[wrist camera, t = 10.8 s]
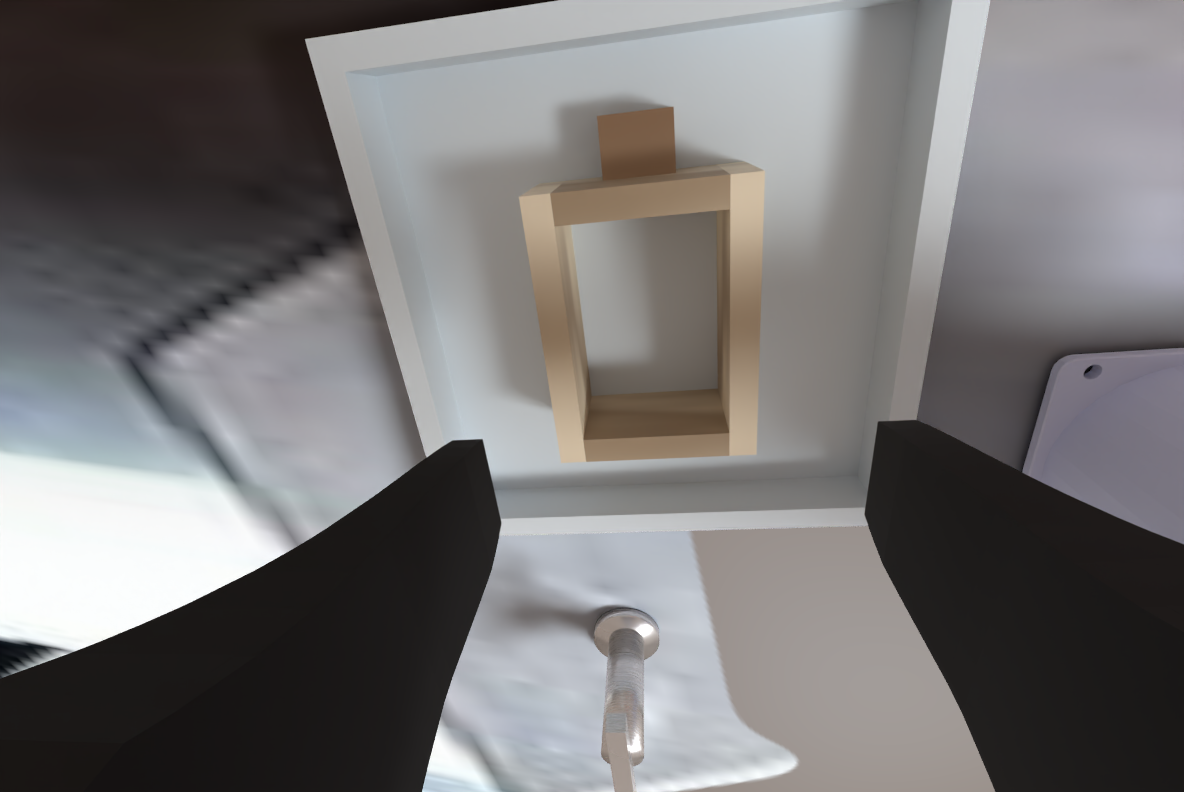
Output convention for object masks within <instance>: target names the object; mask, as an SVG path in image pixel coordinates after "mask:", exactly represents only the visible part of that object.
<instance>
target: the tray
mask: <svg viewBox="0 0 1184 792" xmlns="http://www.w3.org/2000/svg"><path fill="white" fill-rule="evenodd" d="M989 5H990V0H558V1H552V2H545V3H539V4H532V5H526V6H519V7H513V8H506V9H499V10H493V11H486V12H480V13H473V14H467V15H460V16H454V17H447V18H440V19H434V20H427V21H421V22H414V23H408V24H401V25H395V26H388V27H381V28H375V29H368V30H362V31H355V32H349V33H342V34H336V35H329V36H322V37H316V38H309V39H305V41H306V45H307V48H308V52H309V55H310V59H311V62H312V66H313V69H314V72H315V76H316V79H317V83H318V86H319V90H320V93H321V97H322V100H323V103H324V107H325V110H326V114H327V117H328V121H329V124H330V128H331V131H332V134H333V138H334V141H335V145H336V148H337V152H338V155H339V159H340V162H341V165H342V169H343V172H344V176H345V179H346V183H347V186H348V190H349V193H350V196H351V200H352V203H353V207H354V210H355V214H356V217H357V221H358V224H359V227H360V231H361V234H362V238H363V241H364V245H365V248H366V252H367V255H368V258H369V262H370V265H371V269H372V272H373V276H374V279H375V283H376V286H377V289H378V293H379V296H380V300H381V303H382V307H383V310H384V314H385V317H386V320H387V324H388V327H389V331H390V334H391V338H392V341H393V345H394V348H395V351H396V355H397V358H398V362H399V365H400V369H401V372H402V376H403V379H404V383H405V386H406V389H407V393H408V396H409V400H410V403H411V407H412V410H413V414H414V417H415V420H416V424H417V427H418V431H419V434H420V438H421V441H422V445H423V448H424V451H425V455H426V458H427V457H428V456H429V455H431V454H432V453H434V452H435V451H437V450H438V449H439V448H441V447H442V446H444V445H446V444H447V443H449V442H451V441H452V440H471V439H483V443H484V447H485V451H486V456H487V460H488V465H489V469H490V474H491V478H492V482H493V487H494V491H495V496H496V500H497V505H498V509H499V514H500V518H501V522H502V524H501V529H500V534H499V536H515V535H551V534H588V533H624V532H661V531H696V530H734V529H770V528H806V527H842V526H868V523H867V521H866V518H865V515H864V513H865V506H866V499H867V492H868V486H869V479H870V472H871V465H872V458H873V451H874V445H875V438H876V431H877V424H878V421H899V420H916V419H917V414H918V408H919V402H920V397H921V391H922V385H923V380H924V374H925V368H926V363H927V357H928V351H929V346H930V340H931V334H932V329H933V323H934V317H935V312H936V306H937V300H938V294H939V289H940V283H941V277H942V272H943V266H944V260H945V255H946V249H947V243H948V238H949V232H950V226H951V221H952V215H953V209H954V204H955V198H956V192H957V187H958V181H959V175H960V170H961V164H962V158H963V153H964V147H965V141H966V136H967V130H968V124H969V119H970V113H971V107H972V102H973V96H974V90H975V84H976V79H977V73H978V67H979V62H980V56H981V50H982V45H983V39H984V33H985V28H986V22H987V16H988V11H989ZM666 107H674V129H675V156H676V169H679V168H688V167H698V166H707V165H716V164H725V163H735V162H744V161H745V162H747V163H749V164H751V165H754V166H756V167H758V168H760V169H762V170H764V171H765V188H764V221H763V254H762V287H761V321H760V354H759V387H758V420H757V454H756V455H737V456H713V457H690V458H666V459H643V460H620V461H596V462H573V463H561V459H560V453H559V446H558V440H557V434H556V428H555V421H554V415H553V409H552V402H551V396H550V390H549V384H548V377H547V371H546V365H545V358H544V352H543V346H542V340H541V333H540V327H539V321H538V314H537V308H536V302H535V296H534V289H533V283H532V277H531V271H530V264H529V258H528V252H527V245H526V239H525V233H524V227H523V220H522V214H521V208H520V201H519V196H521V195H522V194H524V193H526V192H527V191H529V190H530V189H532V188H533V187H535V186H536V185H538V184H541V183H550V182H559V181H568V180H578V179H587V178H596V177H602V167H601V156H600V145H599V134H598V124H597V116H601V115H609V114H617V113H625V112H633V111H641V110H649V109H658V108H666ZM571 230H572V238H573V246H574V254H575V262H576V271H577V279H578V287H579V295H580V304H581V312H582V320H583V328H584V336H585V345H586V353H587V361H588V369H589V378H590V386H591V394H592V396H599V395H616V394H634V393H651V392H668V391H685V390H703V389H718V360H717V213H716V211H708V212H698V213H687V214H677V215H667V216H657V217H647V218H636V219H626V220H616V221H606V222H596V223H585V224H575V225H571Z"/></svg>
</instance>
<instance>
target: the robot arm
mask: <svg viewBox="0 0 1184 792" xmlns="http://www.w3.org/2000/svg"><path fill="white" fill-rule="evenodd" d="M1091 365H1093V368H1092V369H1091V371H1089V372H1088V373H1086V374H1084V371H1085V370H1086V369H1087V368H1088V367H1089V366H1091ZM864 515H865V518H866V521H867V523H868V526H869V529H870V532H871V535H872V537H873V540H874V543H875V545H876V548H877V550H878V553H879V555H880V558H881V561H882V563H883V565H884V567H885V569H886V571H887V573H888V575H889V577H890V579H891V581H892V583H893V584H894V586H895V588H896V590H897V592H898V594H899V596H900V597H901V599H902V601H903V603H904V605H905V607H906V609H907V610H908V612H909V614H910V616H911V618H912V620H913V621H914V623H915V625H916V627H917V628H918V630H919V632H920V634H921V636H922V638H923V640H924V641H925V643H926V645H927V647H928V649H929V650H930V652H931V654H932V656H933V658H934V660H935V662H936V663H937V665H938V667H939V669H940V670H941V672H942V674H943V676H944V678H945V680H946V682H947V683H948V685H949V687H950V689H951V691H952V694H953V695H954V698H955V700H956V702H957V704H958V705H959V708H960V710H961V712H962V714H963V716H964V718H965V721H966V723H967V725H968V728H969V730H970V732H971V735H972V737H973V740H974V742H975V744H976V746H977V749H978V751H979V754H980V756H981V758H982V761H983V763H984V765H985V768H986V770H987V772H988V775H989V777H990V779H991V782H992V784H993V787H994V789H995V792H1184V348H1171V349H1155V350H1139V351H1123V352H1106V353H1090V354H1074V355H1068V356H1065V357H1063V358H1061V359H1059V360H1058V361H1057V362H1056V363H1055V364H1054V366H1053V368H1052V370H1051V374H1050V377H1049V380H1048V384H1047V387H1046V391H1045V394H1044V398H1043V401H1042V405H1041V408H1040V412H1039V415H1038V419H1037V422H1036V425H1035V429H1034V432H1033V436H1032V439H1031V443H1030V446H1029V450H1028V453H1027V457H1026V460H1025V464H1024V467H1023V471H1022V472H1020V471H1018V470H1016V469H1014V468H1012V467H1010V466H1008V465H1006V464H1004V463H1002V462H1000V461H998V460H997V459H995V458H993V457H991V456H989V455H987V454H985V453H983V452H981V451H979V450H977V449H975V448H973V447H971V446H969V445H967V444H965V443H964V442H962V441H960V440H958V439H956V438H954V437H952V436H950V435H948V434H946V433H944V432H942V431H940V430H938V429H935V428H933V427H931V426H929V425H927V424H924V423H922V422H919V421H917V420H899V421H878V424H877V431H876V438H875V445H874V451H873V458H872V465H871V472H870V479H869V486H868V492H867V499H866V506H865V513H864ZM501 524H502V522H501V518H500V514H499V509H498V505H497V500H496V496H495V491H494V487H493V482H492V478H491V474H490V469H489V465H488V460H487V456H486V451H485V447H484V443H483V439H471V440H452V441H451V442H449V443H447V444H446V445H444V446H442V447H441V448H439V449H438V450H437V451H435V452H434V453H432V454H431V455H429V456H428V457H427V458H425V459H424V460H423V461H421V462H420V463H419V464H417V465H416V466H414V467H413V468H412V469H410V470H409V471H408V472H406V473H405V474H404V475H402V476H401V477H400V478H398V479H397V480H396V481H394V482H393V483H391V484H390V485H389V486H387V487H386V488H385V489H383V490H382V491H381V492H379V493H378V494H376V495H375V496H374V497H372V498H371V499H369V500H368V501H366V502H365V503H363V504H362V505H360V506H359V507H358V508H356V509H355V510H353V511H352V512H350V513H349V514H347V515H346V516H344V517H343V518H341V519H340V520H338V521H337V522H335V523H334V524H332V525H331V526H330V527H328V528H327V529H325V530H323V531H322V532H320V533H319V534H317V535H316V536H314V537H312V538H311V539H309V540H307V541H306V542H304V543H302V544H301V545H299V546H297V547H296V548H294V549H292V550H291V551H289V552H287V553H285V554H284V555H282V556H280V557H278V558H277V559H275V560H273V561H271V562H269V563H268V564H266V565H264V566H262V567H260V568H259V569H257V570H255V571H253V572H251V573H249V574H247V575H245V576H243V577H241V578H239V579H237V580H235V581H233V582H231V583H229V584H227V585H225V586H223V587H221V588H219V589H217V590H215V591H213V592H211V593H209V594H207V595H205V596H203V597H201V598H199V599H197V600H195V601H193V602H191V603H189V604H186V605H184V606H182V607H180V608H178V609H176V610H173V611H171V612H169V613H167V614H164V615H162V616H160V617H157V618H155V619H153V620H151V621H148V622H146V623H144V624H142V625H139V626H137V627H134V628H132V629H130V630H127V631H125V632H122V633H120V634H117V635H115V636H113V637H110V638H108V639H105V640H103V641H100V642H98V643H95V644H93V645H90V646H88V647H85V648H83V649H80V650H78V651H75V652H72V653H70V654H67V655H64V656H62V657H59V658H56V659H53V660H51V661H48V662H45V663H42V664H40V665H37V666H34V667H31V668H28V669H26V670H23V671H20V672H17V673H15V674H12V675H9V676H6V677H4V678H1V679H0V792H422V789H423V784H424V780H425V776H426V772H427V767H428V763H429V759H430V755H431V752H432V748H433V744H434V740H435V736H436V732H437V728H438V725H439V721H440V717H441V713H442V709H443V705H444V702H445V699H446V696H447V693H448V689H449V686H450V683H451V680H452V677H453V674H454V672H455V669H456V666H457V663H458V661H459V658H460V655H461V653H462V650H463V647H464V645H465V642H466V639H467V636H468V634H469V631H470V628H471V626H472V623H473V620H474V617H475V615H476V612H477V609H478V607H479V604H480V601H481V598H482V595H483V593H484V590H485V587H486V584H487V582H488V579H489V576H490V573H491V570H492V566H493V562H494V557H495V553H496V549H497V544H498V539H499V534H500V529H501Z"/></svg>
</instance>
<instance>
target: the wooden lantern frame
mask: <svg viewBox="0 0 1184 792" xmlns="http://www.w3.org/2000/svg"><path fill="white" fill-rule="evenodd" d="M597 124H598V134H599V145H600V156H601V167H602V177H596V178H587V179H578V180H568V181H559V182H550V183H541V184H538V185H536V186H535V187H533V188H532V189H530V190H529V191H527V192H526V193H524V194H522V195H521V196H519V201H520V208H521V214H522V220H523V227H524V233H525V239H526V245H527V252H528V258H529V264H530V271H531V277H532V283H533V289H534V296H535V302H536V308H537V314H538V321H539V327H540V333H541V340H542V346H543V352H544V358H545V365H546V371H547V377H548V384H549V390H550V396H551V402H552V409H553V415H554V421H555V428H556V434H557V440H558V446H559V453H560V459H561V463H573V462H596V461H620V460H643V459H666V458H690V457H713V456H737V455H756V454H757V420H758V387H759V354H760V321H761V287H762V254H763V221H764V188H765V171H764V170H762V169H760V168H758V167H756V166H754V165H751V164H749V163H747V162H745V161H744V162H735V163H725V164H716V165H707V166H698V167H688V168H679V169H676V156H675V129H674V107H666V108H658V109H649V110H641V111H633V112H625V113H617V114H609V115H601V116H597ZM708 211H716V213H717V360H718V389H703V390H685V391H668V392H651V393H634V394H616V395H599V396H592V394H591V386H590V378H589V369H588V361H587V353H586V345H585V336H584V328H583V320H582V312H581V304H580V295H579V287H578V279H577V271H576V262H575V254H574V246H573V238H572V230H571V225H575V224H585V223H596V222H606V221H616V220H626V219H636V218H647V217H657V216H667V215H677V214H687V213H698V212H708Z"/></svg>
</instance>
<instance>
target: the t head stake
mask: <svg viewBox="0 0 1184 792" xmlns="http://www.w3.org/2000/svg"><path fill="white" fill-rule="evenodd" d="M594 642H595V645H596V647H597V648H598V650H599V651H600V652H601V653H602V654H604V655H605V656H607V657H608V662H607V677H606V691H605V705H604V720H603V734H602V749H601V755H602V758H603V759H604V760H605V761H606V762H607V763H609V764H611V771H612V777H613V783H614V789H615V792H636V785H635V778H634V770H633V766H636V765H638V764H640V763H641V762H642V760H643V758H644V660H645V659H647V658H649V657H650V656H652V655H653V654H654V653H655V652H656V650H657V649H658V646H659V628H658V626H657V624H656V622H655V621H654V620H653V619H652V618H651V617H650V616H649V615H647V614H645V613H643V612H641V611H638V610H635V609H628V608H622V609H615V610H611V611H609V612H607V613H605V614H603V615H602V616H601V617H600V618H599V619H598V620H597V622H596V625H595V632H594Z"/></svg>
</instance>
